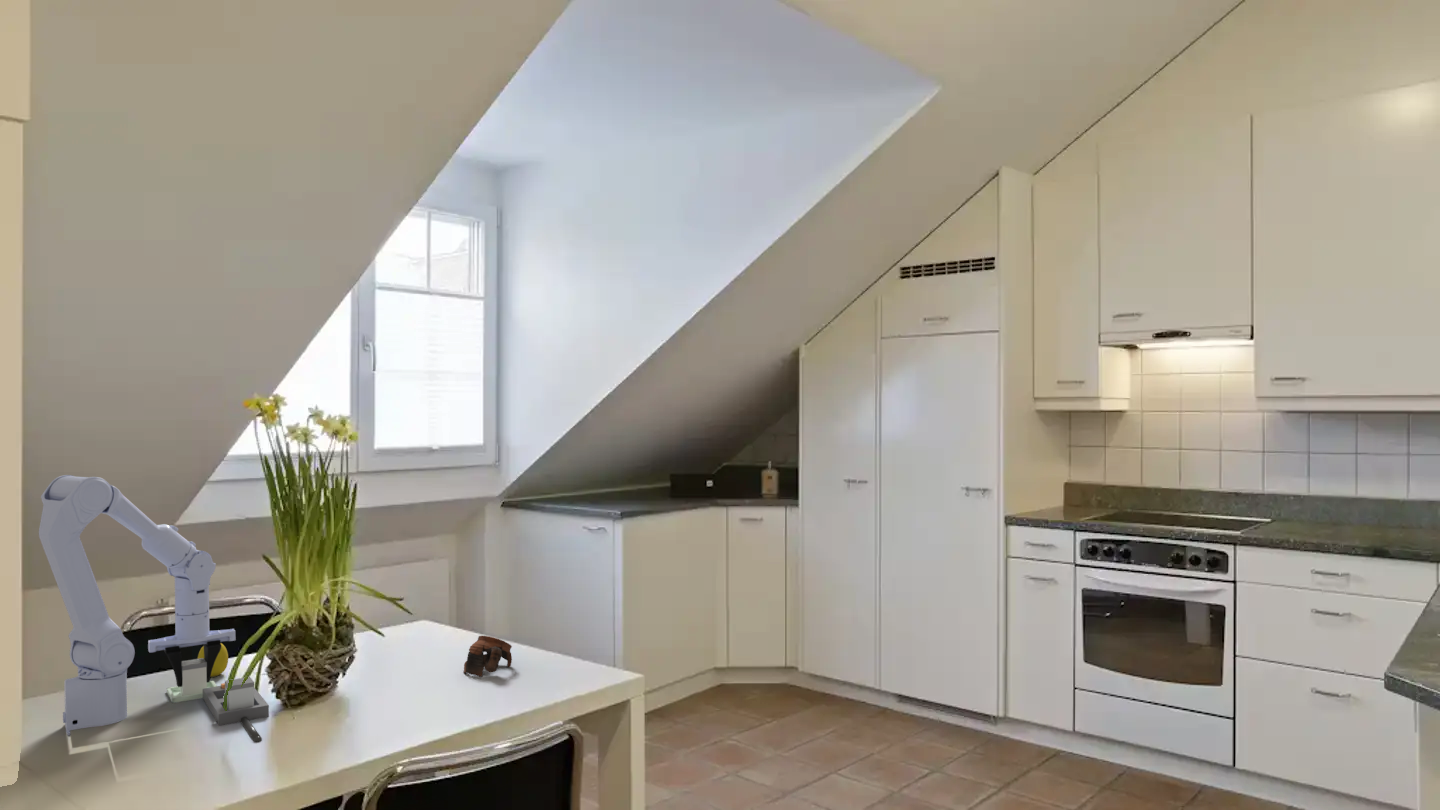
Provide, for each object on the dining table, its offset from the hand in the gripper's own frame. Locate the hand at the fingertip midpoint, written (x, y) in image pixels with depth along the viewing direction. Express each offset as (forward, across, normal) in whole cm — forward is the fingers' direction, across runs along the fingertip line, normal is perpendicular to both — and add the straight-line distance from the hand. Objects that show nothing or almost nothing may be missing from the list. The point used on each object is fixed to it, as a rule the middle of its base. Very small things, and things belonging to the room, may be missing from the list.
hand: (193, 683), depth 186 cm
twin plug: (+2, -5, +18) cm, 19 cm away
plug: (+2, 0, 0) cm, 2 cm away
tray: (+3, 0, 0) cm, 3 cm away
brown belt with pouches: (+3, -52, +18) cm, 55 cm away
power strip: (+3, -5, +19) cm, 20 cm away
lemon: (+3, -5, -11) cm, 12 cm away
